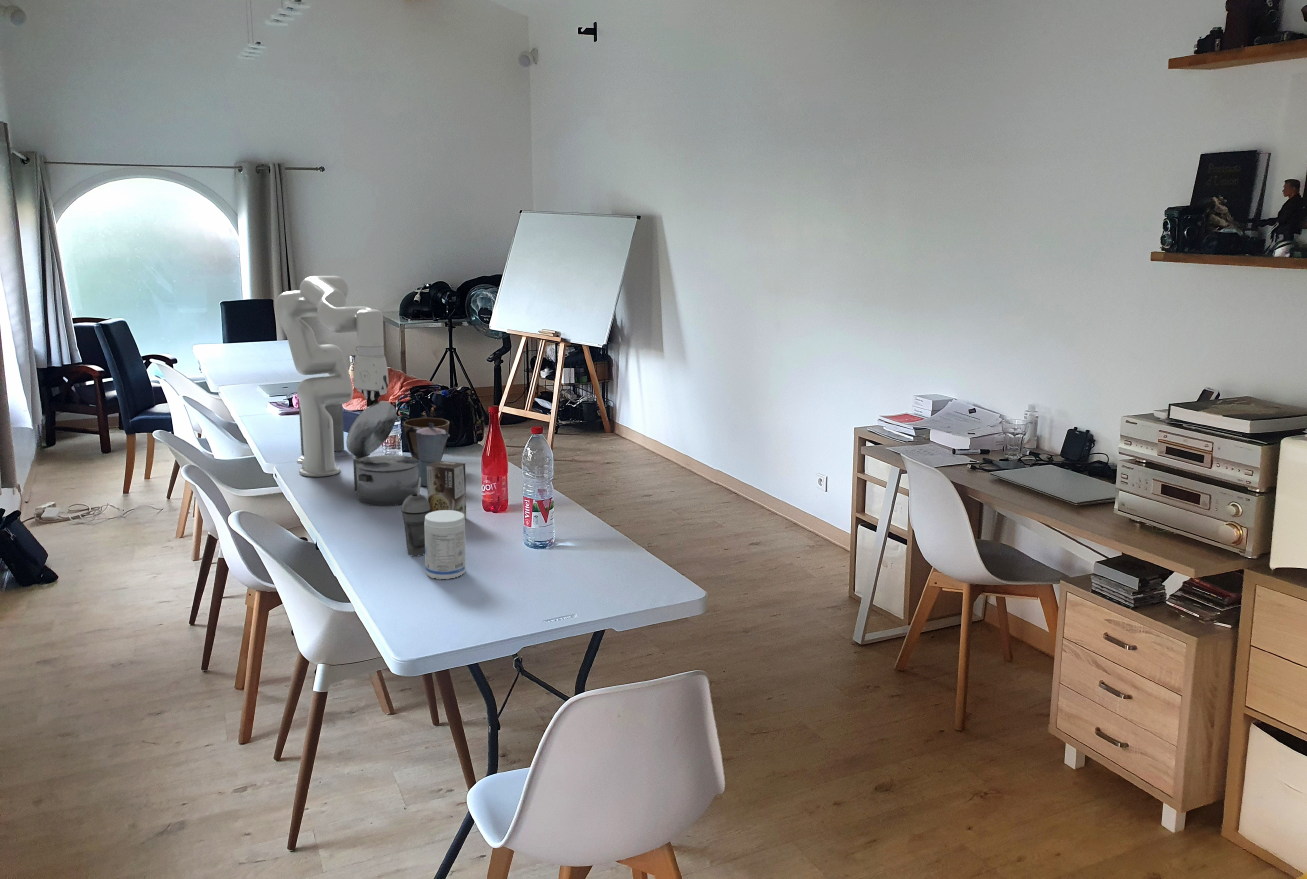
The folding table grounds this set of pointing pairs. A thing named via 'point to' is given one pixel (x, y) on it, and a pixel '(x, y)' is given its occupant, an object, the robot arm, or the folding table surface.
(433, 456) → the moka pot
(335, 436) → the grey upright box
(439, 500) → the coffee box
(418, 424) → the plant pot
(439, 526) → the supplement tub
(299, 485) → the folding table surface
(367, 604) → the folding table surface
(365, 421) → the lid
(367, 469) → the cooking pot
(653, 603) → the folding table surface
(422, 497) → the beverage cup
